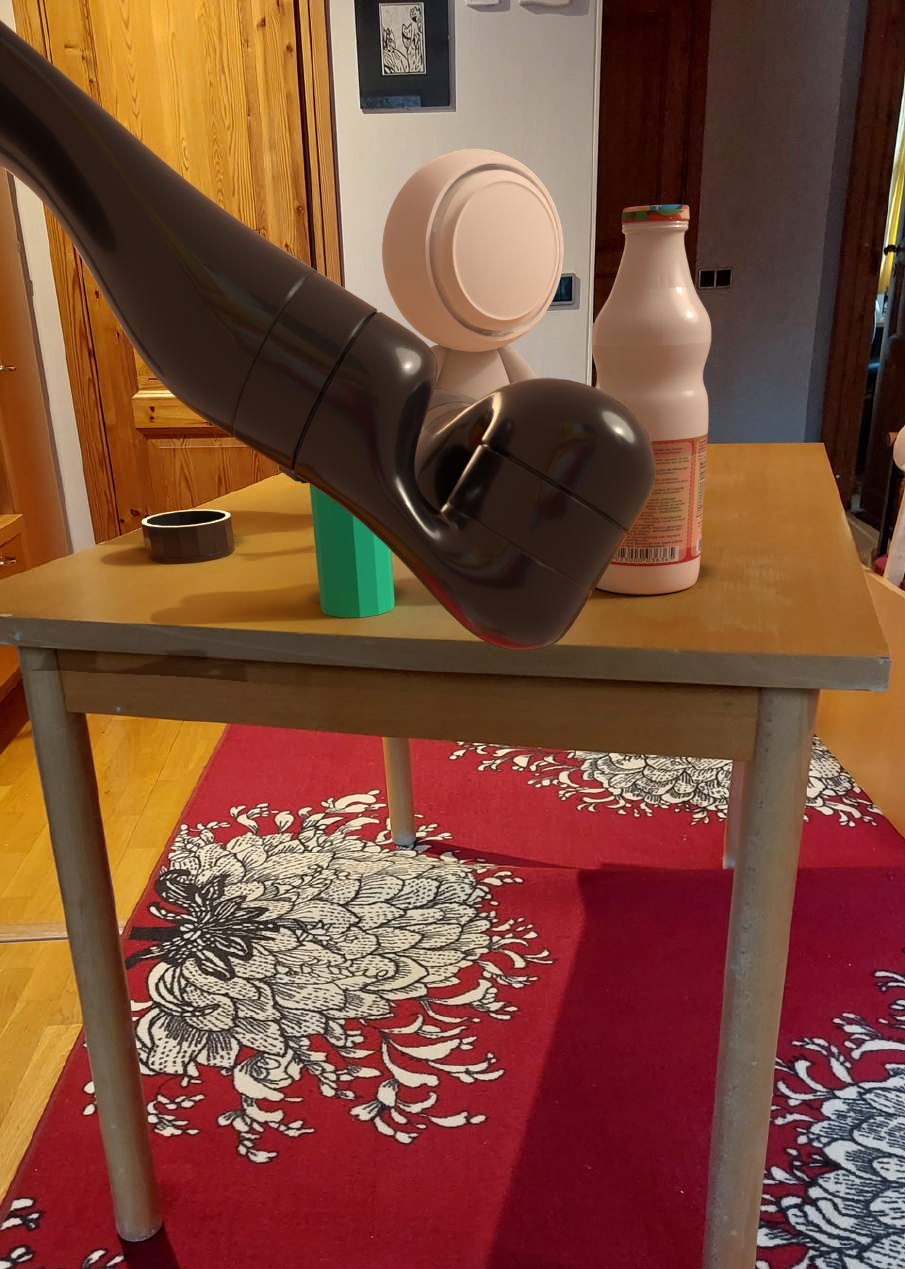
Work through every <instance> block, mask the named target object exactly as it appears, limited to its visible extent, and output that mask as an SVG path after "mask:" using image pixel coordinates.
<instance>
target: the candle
mask: <svg viewBox="0 0 905 1269" xmlns="http://www.w3.org/2000/svg"><path fill="white" fill-rule="evenodd" d="M309 494H310V504H311V505H310V506H311V517H312V525H313V526H312V527H313V537H314V548H315V558H316V571H317V581H318V592H319V603H320V611H321V612H322V613H323V614H324V615H327V616H331V617H336V618H365V617H373V616H380V615H381V614H384V613H387V612H390V611H392V610H393V608H394V607H395V605H396V602H395V601H396V600H395V584H394V569H393V552H392V551H391V550H390V549H389V548H388V547H387V546H386V545H385V544H384V543H383V542H382V541H381V540H380V539H379V538H378V537H377V536H376V535H375V534H373V533H372V532H371V531H370V530H369V529H368V528H367V527H366V526H365V525H364V524H363V523H362V522H360V521H359V520H358V519H357V518H356V517H354V516H353V515H352V514H351V513H350V512H348V511H347V510H346V509H345V508H343V507H342V506H341V505H339V504H338V503H337V502H336V501H334V500H333V499H331V498H330V497H328V496H327V495H325V494H324V493H323V492H321V491H320V490H318V489H317V488H315V487H314V486H312V485H311V484H309Z"/></svg>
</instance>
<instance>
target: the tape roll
mask: <svg viewBox="0 0 905 1269" xmlns="http://www.w3.org/2000/svg"><path fill="white" fill-rule="evenodd" d="M140 525H141V531H142V536H143V543H144V549H145V553H146V558H147V560H148V561H151V562H154V563H159V564H169V565H170V564H171V565H173V564H176V565H177V564H178V565H179V564H195V563H202V562H203V563H204V562H209V561H214V560H217V559H218V560H219V559H222V558H225V557H228V556H230V555H232V554H234V552H235V551H236V546H235V539H234V532H233V531H234V530H233V523H232V516H231V513H230V512H227V511H224V510H219V509H187V510H185V509H184V510H176V511H169V512H162V513H158V514H153V515H150V516H147V517H146V518H143V519H142V520H141V524H140Z"/></svg>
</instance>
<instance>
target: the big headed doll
mask: <svg viewBox="0 0 905 1269" xmlns="http://www.w3.org/2000/svg"><path fill="white" fill-rule="evenodd" d="M382 234H383V235H382V244H381V257H382V258H381V259H382V260H381V261H382V268H383V274H384V278H385V282H386V286H387V289H388V292H389V293H390V296H391V298H392V300H393V302H394V305H395V306H396V308H397V309H398V311H399V313H400V314H401V315H402V317H403V318H404V319H405V321H406V322H407V323H408V324H409V325H410V326H411V327H412V328H413V329H414V330H415V331H416V332H417V333H419V334H420V335H421V336H423V337H424V338H426V339H427V340H429V341H431V342H433V343H434V344H435V345H432V346H429V347H430V348H431V350H432V351H433V353H434V355H435V357H436V360H437V368H438V373H437V381H436V385H435V387H438V388H441V389H445V390H448V391H452V392H456V393H459V394H463V395H466V396H469V397H471V398H474V399H476V400H477V401H478V400H480V399H481V398H483V397H484V396H486V395H488V394H489V393H491V392H493V391H495V390H496V389H499V388H501V387H503V386H506V385H508V384H510V383H513V382H516V381H520V380H525V379H533V378H538V377H537V376H536V374H535V372H534V371H533V369H532V368H531V367H530V366H529V364H528V363H527V362H526V360H525V359H524V357H522V355H521V354H520V353H519V352H518V351H517V350H516V349H515V348H514V347H512V346H511V345H510V344H512V343H514V342H515V341H517V340H519V339H520V338H522V337H523V336H525V335H526V334H527V333H529V332H530V331H531V330H532V329H533V327H535V326H536V325H537V324H538V323H539V322H540V320H541V319H542V318H543V317H544V315H545V314H546V313H547V311H548V309H549V308H550V305H551V304H552V302H553V301H554V298H555V295H556V294H557V290H558V288H559V284H560V280H561V277H562V273H563V267H564V257H565V256H564V253H565V244H564V243H565V242H564V233H563V227H562V221H561V217H560V214H559V212H558V210H557V206H556V204H555V202H554V199H553V198H552V196H551V193H550V192H549V190H548V189H547V187H546V186H545V185H544V183H543V181H541V179H540V178H539V177H538V176H537V175H536V174H535V173H534V172H533V171H532V170H531V169H530V168H529V167H527V166H526V165H525V164H524V163H522V162H520V161H519V160H518V159H515V158H514V157H511V156H509V155H508V154H505V153H502V152H499V151H495V150H491V149H485V148H465V149H458V150H453V151H450V152H447V153H444V154H443V155H442V154H441V155H440V156H437V157H436V158H434V159H431V160H430V161H428V162H427V163H426V164H424V165H423V166H421V167H420V168H419V169H418V170H416V171H415V172H414V173H413V174H412V175H411V176H410V177H409V178H408V179H407V181H406V182H405V183H404V185H403V186H402V187H401V188H400V190H399V192H398V193H397V194H396V197H395V198H394V200H393V202H392V204H391V206H390V208H389V212H388V214H387V218H386V220H385V224H384V229H383V233H382Z"/></svg>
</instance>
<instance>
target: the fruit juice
mask: <svg viewBox="0 0 905 1269" xmlns="http://www.w3.org/2000/svg"><path fill="white" fill-rule="evenodd" d="M621 214H622V215H621V227H622V229H621V232H622V234H624V235H625V242H624V249H623V253H622V257H621V260H620V263H619V267H618V270H617V274H616V277H615V280H614V283H613V285H612V288H611V291H610V293H609V296H608V298H607V299H606V301H605V302H604V304H603V307H602V308H601V310H600V311H599V313H598V314H597V316H596V318H595V321H594V323H593V326H592V333H591V352H592V356H593V357H592V358H593V361H594V366H595V370H596V384H595V386H594V388H597V389H599V390H601V391H603V392H605V393H607V394H609V395H611V396H612V397H614V398H615V399H617V400H618V401H619V402H621V403H622V404H623V405H625V406H626V407H627V408H628V409H629V410H630V411H631V412H632V413H633V414H634V415H635V416H636V417H637V418H638V420H639V421H640V423H641V424H642V426H643V427H644V429H645V431H646V432H647V434H648V436H649V438H650V440H651V443H652V447H653V450H654V454H655V462H656V475H655V483H654V486H653V490H652V493H651V495H650V498H649V500H648V502H647V504H646V506H645V508H644V510H643V511H642V513H641V515H640V516H639V518H638V520H637V521H636V523H635V524H634V526H633V528H632V529H631V531H630V532H629V533H626V536H627V537H626V539H625V541H624V542H623V544H622V546H621V547H620V549H619V550H618V552H617V554H616V555H615V557H614V558H613V560H612V562H611V563H610V565H609V567H608V568H607V570H606V571H605V573H604V575H603V576H602V578H601V579H600V581H599V583H598V584H597V586H596V588H597V589H599V590H602V591H605V592H610V593H616V594H624V595H625V594H626V595H659V594H660V595H661V594H667V593H674V592H680V591H684V590H686V589H688V588H691V587H692V586H694V585H695V584H696V582H697V581H698V578H699V574H700V567H701V566H700V565H701V553H702V538H703V537H702V536H703V535H702V534H703V518H704V503H705V501H704V500H705V485H706V484H705V483H706V467H707V466H706V465H707V450H708V435H709V417H710V416H709V413H710V412H709V397H708V392H707V388H706V386H705V382H704V369H705V366H706V364H707V363H706V362H707V360H708V356H709V353H710V349H711V344H712V323H711V319H710V316H709V313H708V310H706V308H705V306H704V304H703V302H702V300H701V298H700V296H699V295H698V293H697V290H696V289H695V284H694V283H693V282H694V281H693V279H692V275H691V270H690V267H689V262H688V257H687V252H686V246H685V234H686V231H688V230H689V221H690V207H689V205H687V204H655V205H641V206H640V205H639V206H631V207H630V206H629V207H624V208H623V210H622V213H621ZM624 533H625V532H624ZM596 588H595V589H596Z"/></svg>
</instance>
